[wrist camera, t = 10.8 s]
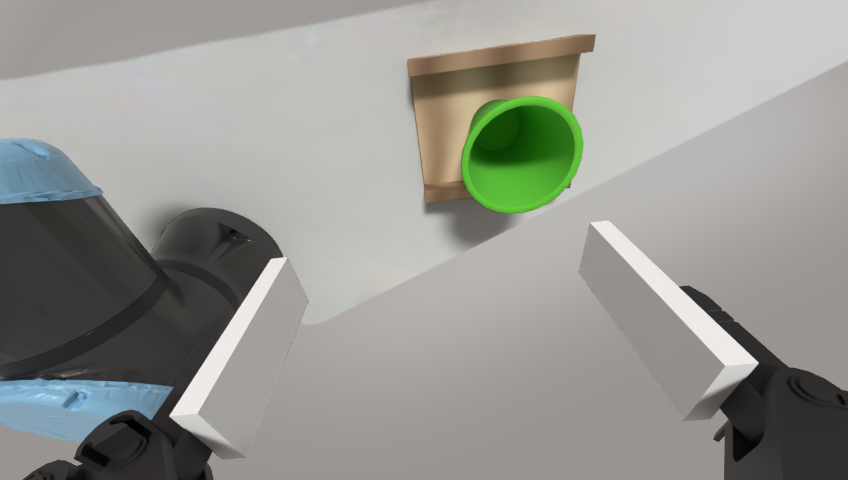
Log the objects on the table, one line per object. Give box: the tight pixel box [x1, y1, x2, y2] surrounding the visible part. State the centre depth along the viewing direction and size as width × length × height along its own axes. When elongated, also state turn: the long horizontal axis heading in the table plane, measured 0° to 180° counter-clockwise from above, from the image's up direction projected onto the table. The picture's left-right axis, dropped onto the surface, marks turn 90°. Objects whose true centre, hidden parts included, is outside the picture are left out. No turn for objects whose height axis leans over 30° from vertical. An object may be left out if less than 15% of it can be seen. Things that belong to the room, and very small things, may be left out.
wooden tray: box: [407, 35, 596, 203], centre depth 31 cm, size 16×14×3 cm
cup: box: [461, 96, 583, 214], centre depth 27 cm, size 9×9×11 cm
